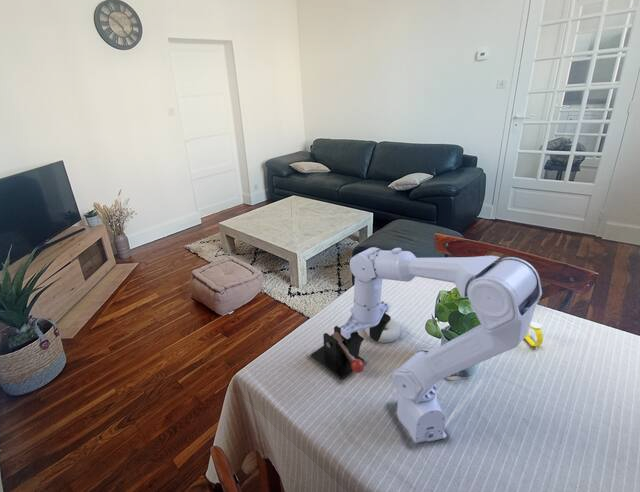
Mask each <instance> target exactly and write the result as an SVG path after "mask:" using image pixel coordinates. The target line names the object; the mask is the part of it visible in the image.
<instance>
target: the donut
mask: <svg viewBox="0 0 640 492" xmlns="http://www.w3.org/2000/svg"><path fill="white" fill-rule="evenodd" d="M364 331H365V333H366V336H368V337H369V338H370V333H369V328H367V329H364ZM401 333H402V332H401V327H400V325H399V323H398V322H397V321H396V320H394V319H393V318H391V320H390V321H389V322H388V323H387V325H386V326H385V328H384V330H383V332H382V334H381V337H380V339H379V341H378V342H377V343H382V344H389V343H392V342H395V341H396V340H398V339H399V338H400V335H401ZM370 339H371V340H373V339H372V338H370Z"/></svg>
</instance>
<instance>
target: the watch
mask: <svg viewBox="0 0 640 492" xmlns="http://www.w3.org/2000/svg"><path fill="white" fill-rule="evenodd" d="M529 329H532V330H534V332H535V335H536V341H534V340H533V339H532V338H531V336H530V333H529V332H528V333H527V335H526V337H525V338H524V340H526V342H527V343H528V344H529V345H530V346H531V347H540V346H542V345H543V342H544V336H543V331H542V324H541V323H539V322H537V321H533V320H531V323H530V326H529Z"/></svg>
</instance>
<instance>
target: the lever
mask: <svg viewBox="0 0 640 492" xmlns="http://www.w3.org/2000/svg"><path fill="white" fill-rule="evenodd" d="M330 336H332V337H333V338H335V339H336V340H337V341H338V347H339V348H340V349H341V350H342V352H343V353H344V354H345V355H346V357H347V358H348V359H349V360H350V362H351V368H352V370H353V371H352V372H354V373H356V374H360V373H363V372H364V369H365V363H364V362H362V361H361V360H360V359H355V358H354V357H353V356H352V355H351V354H349V350H348V349H347V348H346V347H345V345H344V344H343V343H342V342H343V341H344V339H343V338H342V336H341V335H340V334H339V333H338V332H335V333H334V332H333V333H332V334H330Z"/></svg>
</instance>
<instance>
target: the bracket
mask: <svg viewBox="0 0 640 492" xmlns="http://www.w3.org/2000/svg"><path fill="white" fill-rule="evenodd" d="M335 332H338V333H339V334H340V335H341V333H340V326H338V325H336V326H334V327H333V334H334V333H335ZM322 336H323V337H322V338H323V346H321V347H319V348H318V349H316V350H315V351H313V352H312V353H311V354H310V357H311V358H312V359H314V360H315V361H316V362H317V363H318V364H320V365H321V366H322V367H323V368H325V369H326V370H327V371H328V372H330V373H331V374H332V375H333V376H335V377H336V378H337V379H339V381H341V380H343V379H344V378H345V377H346V376H348V375H349V374H351V372H354V371H353V370H352V368H351V362H350V360H349V359H348V358H347V357H346V355H345V354H344V353H343V352H342V350H341V349H340V348H339V347H338V341H337V340H336V339H335V338H333V337H332V336H331V334H328V333H327V332H324V333H323V334H322ZM341 336H342V335H341ZM342 338H343V336H342ZM343 339H344V338H343ZM342 343H343V344H344V345H345V347H346V348H347V349H348V347H347V344H346V341H345V339H344V341H343V342H342ZM354 358H355V357H354ZM355 359H360V360H361V361H362V362H363V363H364V362H365V359H363V358H362V357H361V356H359V355H358V357H357V358H355Z"/></svg>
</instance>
